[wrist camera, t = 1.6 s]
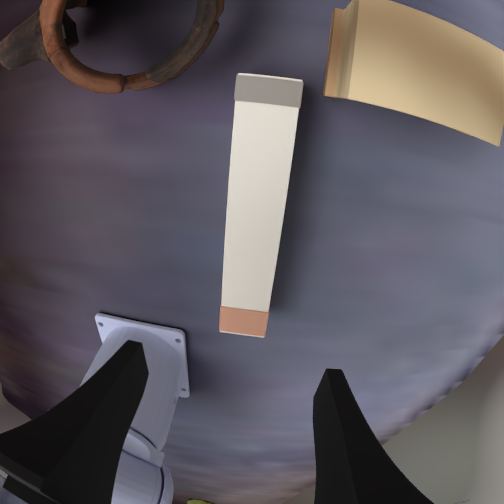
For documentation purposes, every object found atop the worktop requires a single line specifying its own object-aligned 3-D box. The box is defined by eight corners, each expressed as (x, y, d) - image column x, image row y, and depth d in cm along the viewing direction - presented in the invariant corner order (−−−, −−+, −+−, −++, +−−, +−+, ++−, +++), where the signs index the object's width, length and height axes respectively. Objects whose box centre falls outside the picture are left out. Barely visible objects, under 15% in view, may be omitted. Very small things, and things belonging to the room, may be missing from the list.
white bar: (266, 309, 22) (264, 338, 19) (225, 304, 22) (219, 332, 20) (299, 81, 14) (303, 80, 12) (244, 75, 14) (236, 72, 12)
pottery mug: (192, -79, 9) (216, -109, 5) (222, 40, 17) (256, 80, 12) (11, -1, 9) (-58, 28, 4) (60, 104, 17) (26, 172, 12)
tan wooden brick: (437, 124, 14) (504, 150, 9) (315, 93, 15) (337, 98, 9) (447, 59, 12) (517, 59, 7) (324, 23, 12) (349, -12, 7)
